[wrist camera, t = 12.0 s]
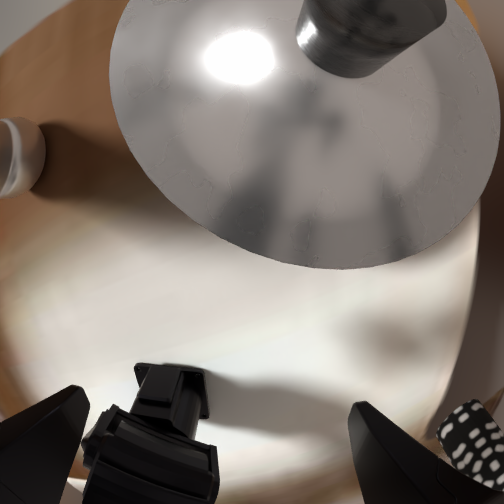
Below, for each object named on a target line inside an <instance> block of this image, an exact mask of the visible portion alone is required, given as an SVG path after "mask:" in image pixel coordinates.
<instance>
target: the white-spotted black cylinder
mask: <svg viewBox="0 0 504 504" xmlns="http://www.w3.org/2000/svg"><path fill="white" fill-rule="evenodd" d="M436 436H437V438H438V440H439V442H440V443H441V445H442V447H443V449H444V450H445V452H446V454H447V456H448V458H449V460H450V462H451V463H452V465H453V467H454V468H455V469H457V470H458V471H460V472H462V473H463V474H465V475H467V476H469V477H471V478H472V479H474V480H476V481H478V482H480V483H482V484H484V485H486V486H489V487H491V488H493V489H495V490H499V491H504V433H503V432H502V431H501V429H500V428H499V426H498V425H497V424H496V423H495V421H494V420H493V418H492V417H491V416H490V414H489V413H488V412H487V410H486V409H485V408H484V407H483V405H482V404H481V403H480V401H479V400H477V399H473V400H471V401H468V402H466V403H465V404H463V405H461V406H460V407H459V408H458V409H456V410H455V411H454V412H452V413H451V414H450V415H449V416H448V417H447V418H446V419H445V420H444V421H443V423H442V424H441V425H440V427H439V428H438V430H437V433H436Z"/></svg>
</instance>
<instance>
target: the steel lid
mask: <svg viewBox="0 0 504 504" xmlns="http://www.w3.org/2000/svg"><path fill="white" fill-rule="evenodd" d="M109 79H110V89H111V98H112V103H113V107H114V110H115V114H116V118H117V121H118V125H119V127H120V129H121V131H122V134H123V136H124V138H125V140H126V142H127V145H128V147H129V149H130V151H131V152H132V154H133V155H134V157H135V158H136V160H137V161H138V163H139V164H140V166H141V168H142V169H143V170H144V172H145V173H146V175H147V176H148V177H149V178H150V180H151V181H152V182H153V183H154V184H155V185H156V186H157V187H158V189H159V190H160V191H161V192H162V193H163V194H164V195H165V196H166V197H167V198H168V199H169V200H170V201H171V202H172V203H173V204H174V205H176V206H177V207H178V208H179V209H180V210H182V211H183V212H184V213H185V214H186V215H188V216H189V217H190V218H191V219H192V220H194V221H195V222H197V223H198V224H200V225H201V226H203V227H205V228H206V229H208V230H209V231H211V232H212V233H214V234H216V235H217V236H219V237H220V238H222V239H224V240H226V241H228V242H231V243H233V244H235V245H237V246H239V247H241V248H243V249H245V250H248V251H250V252H252V253H255V254H258V255H261V256H264V257H267V258H271V259H274V260H277V261H280V262H283V263H289V264H294V265H299V266H305V267H310V268H321V269H341V270H344V269H356V268H368V267H374V266H378V265H383V264H387V263H391V262H395V261H398V260H401V259H403V258H406V257H408V256H411V255H413V254H416V253H418V252H420V251H422V250H424V249H426V248H427V247H429V246H431V245H432V244H434V243H436V242H437V241H439V240H440V239H442V238H443V237H444V236H445V235H447V234H448V233H449V232H450V231H451V230H453V229H454V228H455V227H456V226H457V225H458V224H459V223H460V222H461V221H462V220H463V219H464V218H465V216H466V215H467V214H468V213H469V212H470V211H471V209H472V208H473V206H474V205H475V203H476V202H477V200H478V199H479V197H480V196H481V194H482V192H483V190H484V188H485V186H486V184H487V182H488V179H489V177H490V175H491V172H492V169H493V166H494V162H495V159H496V155H497V149H498V143H499V136H500V105H499V97H498V90H497V85H496V81H495V77H494V73H493V70H492V67H491V64H490V61H489V59H488V55H487V53H486V51H485V48H484V46H483V44H482V42H481V40H480V38H479V36H478V34H477V32H476V31H475V29H474V27H473V26H472V24H471V22H470V21H469V19H468V18H467V16H466V15H465V13H464V12H463V11H462V9H461V8H460V7H459V5H458V4H457V3H456V2H455V0H130V1H129V3H128V4H127V6H126V7H125V10H124V12H123V14H122V16H121V19H120V21H119V23H118V26H117V28H116V32H115V36H114V40H113V44H112V48H111V55H110V69H109Z"/></svg>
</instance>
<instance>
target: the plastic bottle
mask: <svg viewBox="0 0 504 504" xmlns="http://www.w3.org/2000/svg"><path fill="white" fill-rule="evenodd" d="M45 156H46V145H45V140H44V136H43V134H42V132H41V130H40V128H39V127H38V126H37V124H36V123H34V122H32V121H30V120H28V119H25V118H22V117H13V118H5V119H0V198H14V197H17V196H19V195H21V194H23V193H25V192H27V191H28V190H30V189H31V188H32V187H33V185H34V184H35V182H36V181H37V180H38V178H39V176H40V174H41V172H42V170H43V167H44V163H45Z"/></svg>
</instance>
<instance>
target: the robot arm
mask: <svg viewBox="0 0 504 504" xmlns="http://www.w3.org/2000/svg"><path fill="white" fill-rule="evenodd" d="M139 368H140V369H139ZM134 371H135V375H136V378H137V382H138V385H139V388H140V389H139V391H138V393H137V397H136V399H135V401H134V403H133V405H132V407H131V410H130V412H129V413H128V412H126V411H124V410H122V409H120V408H119V407H118V406H116V405H114V404H113V405H112V406H111V408H110V409H109V410H108V409H107V410H106V412H102V413H101V415H100V417H99V419H98V421H97V422H96V424H95V426H94V427H93V428H92V429H91V430H90V431H89V432H88V433H87V434H86V436H85V437H84V438H83V439H82V435H83V432H84V428H85V424H86V421H87V417H88V414H89V410H90V402H89V400H88V398H87V396H86V394H85V391H84V389H83V388H82V387H80V386H77V385H70V386H68V387H66V388H64V389H63V390H61V391H59V392H57V393H55V394H53V395H52V396H50V397H48V398H46V399H44V400H42V401H40V402H38V403H37V404H35V405H33V406H31V407H29V408H27V409H25V410H23V411H21V412H19V413H18V414H16V415H14V416H12V417H10V418H8V419H6V420H4V421H2V423H1V422H0V504H59V503H60V500H61V496H62V493H63V490H64V487H65V484H66V481H67V478H68V475H69V472H70V469H71V467H72V464H73V461H74V458H75V456H76V453H77V450H78V448H79V445H80V442H81V446H82V448H83V451H84V455H83V457H84V460H83V467H85V468H86V469H88V470H90V473H89V476H88V479H87V482H86V485H85V488H84V491H83V501H82V504H214V503H215V501H216V498H217V495H218V491H219V485H220V476H219V466H218V456H217V446H214V445H207V444H204V443H201V442H198V441H195V435H196V430H197V425H198V420H199V419H208V418H209V415H210V412H209V405H208V398H207V390H206V382H205V374H204V372H203V371H202V370H201V369H192V368H180V367H169V366H159V365H151V364H143V363H137V364H136V365H135V366H134ZM197 374H200V375H197ZM348 429H349V436H350V442H351V449H352V456H353V462H354V466H355V470H356V473H357V477H358V480H359V484H360V488H361V491H362V495H363V499H364V503H365V504H504V491H499V490H495V489H493V488H491V487H489V486H486V485H484V484H482V483H480V482H478V481H476V480H474V479H472V478H471V477H469V476H467V475H465V474H463V473H462V472H460V471H458V470H457V469H455V468H454V467H452V466H451V465H449V464H448V463H446V462H445V461H443V460H442V459H441V458H438V456H436V455H435V454H434V453H432V452H431V451H430V450H428V449H427V448H426V447H424V446H423V445H422V444H420V443H419V442H418V441H417V440H415V439H414V438H413V437H411V436H410V435H409V434H407V433H406V432H405V431H404V430H402V429H401V428H400V427H398V426H397V425H396V424H395V423H393V422H392V421H391V420H390V419H388V418H387V417H386V416H385V415H383V414H382V413H381V412H380V411H378V410H377V409H376V408H375V407H373V406H372V405H371V404H370V403H368V402H367V401H360V402H355V403H354V404H353V405H352V408H351V411H350V414H349V417H348ZM81 439H82V441H81Z"/></svg>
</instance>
